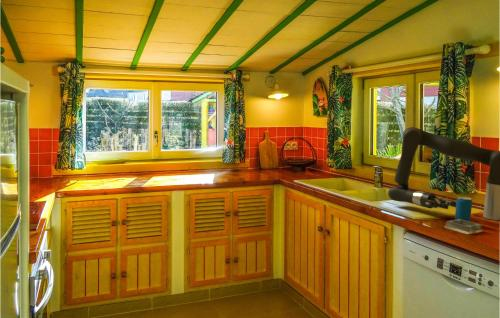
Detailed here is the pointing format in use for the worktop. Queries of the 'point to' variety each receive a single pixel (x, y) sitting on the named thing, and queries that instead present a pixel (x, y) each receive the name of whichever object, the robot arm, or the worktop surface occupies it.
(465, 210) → the beverage can
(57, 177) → the worktop surface
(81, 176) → the worktop surface
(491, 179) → the robot arm
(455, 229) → the grey square tray
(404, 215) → the worktop surface
